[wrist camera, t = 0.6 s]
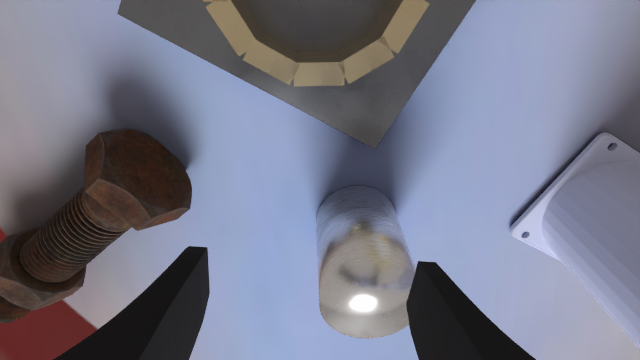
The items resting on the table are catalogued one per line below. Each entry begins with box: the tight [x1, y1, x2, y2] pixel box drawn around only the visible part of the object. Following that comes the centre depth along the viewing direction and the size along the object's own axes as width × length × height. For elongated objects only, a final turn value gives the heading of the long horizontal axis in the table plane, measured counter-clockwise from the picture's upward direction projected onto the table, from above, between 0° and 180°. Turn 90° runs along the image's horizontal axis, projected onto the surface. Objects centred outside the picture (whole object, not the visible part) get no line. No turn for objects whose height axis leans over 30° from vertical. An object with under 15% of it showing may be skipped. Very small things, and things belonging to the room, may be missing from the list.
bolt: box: [0, 129, 192, 323], centre depth 22 cm, size 6×5×15 cm
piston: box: [316, 185, 416, 338], centre depth 21 cm, size 5×5×7 cm
